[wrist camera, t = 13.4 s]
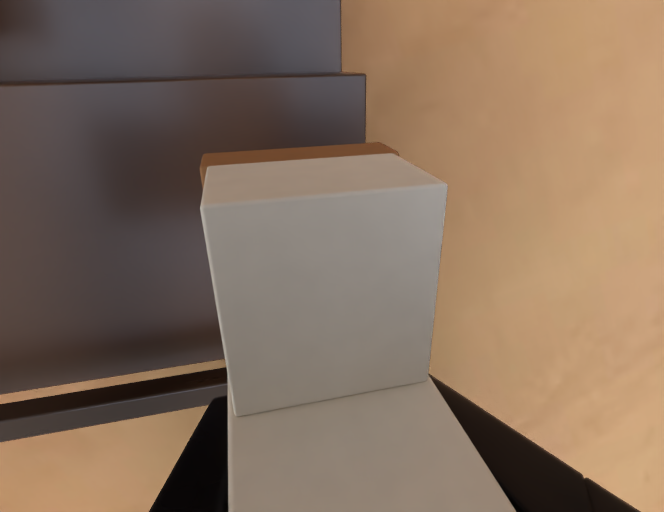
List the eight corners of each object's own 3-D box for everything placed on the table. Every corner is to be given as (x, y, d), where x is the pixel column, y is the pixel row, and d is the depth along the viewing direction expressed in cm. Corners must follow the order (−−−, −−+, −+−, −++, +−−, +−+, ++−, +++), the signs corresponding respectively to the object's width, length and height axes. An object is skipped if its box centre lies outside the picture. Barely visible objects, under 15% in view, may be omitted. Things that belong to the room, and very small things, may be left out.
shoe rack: (328, -293, 12) (421, -618, 6) (337, 286, 20) (381, 374, 14) (-353, -395, 9) (-1366, -1195, 3) (-17, 333, 17) (-137, 467, 11)
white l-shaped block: (372, 430, 10) (485, 717, 6) (249, 456, 10) (268, 798, 5) (380, 141, 7) (635, 275, 3) (202, 153, 7) (154, 348, 2)
